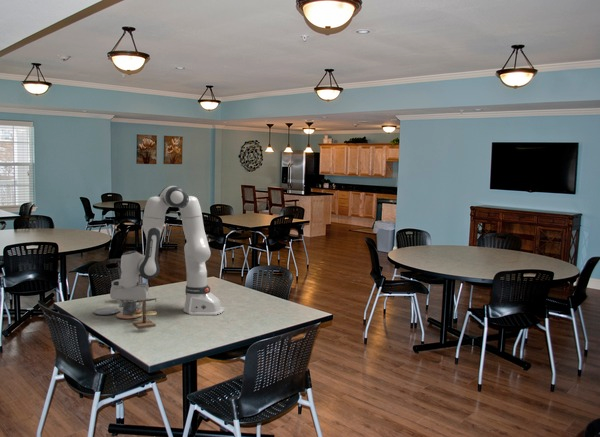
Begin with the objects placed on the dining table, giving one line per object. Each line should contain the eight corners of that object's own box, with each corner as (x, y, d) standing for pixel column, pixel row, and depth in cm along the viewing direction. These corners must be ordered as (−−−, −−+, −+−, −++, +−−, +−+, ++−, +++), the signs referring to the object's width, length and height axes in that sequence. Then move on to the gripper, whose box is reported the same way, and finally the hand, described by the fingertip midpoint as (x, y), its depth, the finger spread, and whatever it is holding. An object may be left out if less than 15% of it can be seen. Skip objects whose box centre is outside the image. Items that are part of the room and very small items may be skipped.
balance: (160, 329, 252) (160, 298, 251) (144, 332, 248) (144, 301, 246) (143, 318, 271) (143, 289, 269) (128, 320, 266) (128, 291, 264)
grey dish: (123, 310, 285) (123, 308, 285) (112, 316, 272) (112, 314, 272) (101, 308, 287) (101, 306, 287) (89, 314, 274) (88, 312, 274)
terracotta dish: (146, 313, 279) (146, 311, 279) (135, 320, 267) (135, 318, 266) (123, 312, 281) (123, 310, 281) (111, 318, 268) (111, 316, 268)
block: (136, 313, 276) (136, 302, 275) (132, 315, 271) (132, 304, 270) (127, 312, 276) (127, 301, 276) (123, 315, 272) (123, 303, 271)
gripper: (151, 281, 274) (151, 307, 275) (114, 279, 277) (114, 305, 278) (145, 284, 268) (145, 310, 269) (108, 282, 270) (108, 308, 272)
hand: (129, 307), depth 273 cm, fingers open, 8 cm apart
